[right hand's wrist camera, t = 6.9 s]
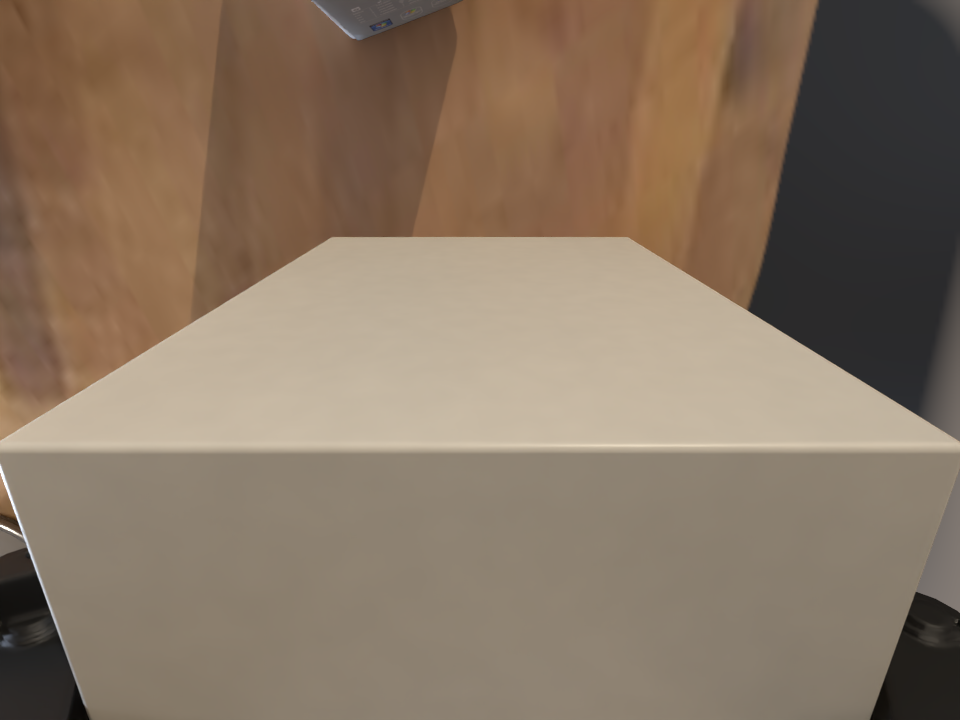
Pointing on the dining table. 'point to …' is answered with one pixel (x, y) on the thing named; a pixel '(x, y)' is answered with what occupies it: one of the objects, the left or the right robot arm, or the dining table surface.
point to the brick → (479, 500)
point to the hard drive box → (377, 13)
